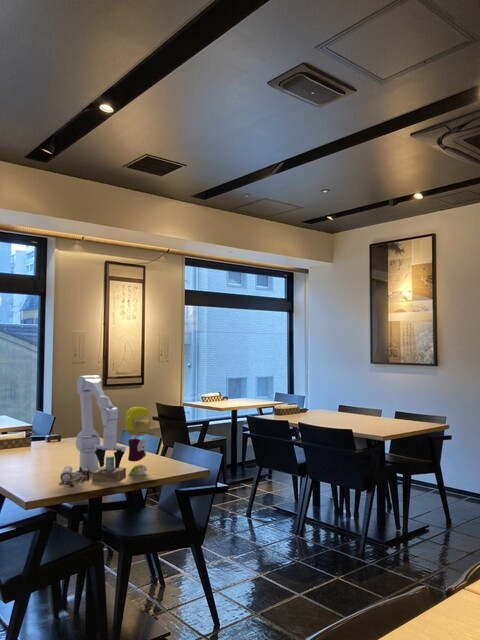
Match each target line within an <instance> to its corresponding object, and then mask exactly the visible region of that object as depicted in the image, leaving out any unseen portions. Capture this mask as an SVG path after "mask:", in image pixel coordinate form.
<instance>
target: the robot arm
mask: <svg viewBox="0 0 480 640" xmlns="http://www.w3.org/2000/svg"><path fill="white" fill-rule="evenodd" d="M76 390H77V394H79V399H80V414H81V431H80V432H79V433H77V434H76V441H75V447H76V450H77V451H78V452H79V467H81V468H84V469H85V468H86V467H87V466H88V469H89V470H90V473H92V472H94V471H96V470H98V469H100V468H101V467H105V458H106V451H112V452H113V451H114V452H113V455H114V467H115V468H119V467H120V464H121V461H122V458H123V456H124V454H125V452H126V446H124V445H119V444H118V445H117V443H118V441H117V440H118V421H119V420H120V417H121V413H120V409H119V407H117V406H114V405H113V403H112V401H111V399H110V398H109V396H107V395H105V393H104V390H103V388H102V378H101V376H100V375H99V374H97V375H79V376H78V377H77V380H76ZM92 395H94V397H95V398H96V400H97V401H96V404H97V406H98V408H99V410H100V412H101V416H100V417H101V420H102V421H101V422H102V426H103V433H102V434H103V438H102V439H103V440H102V442H103V444H101V439H100V435H99V432H98V431H96V429H94V420H93V419H94V418H93V417H94V416H93V405H92V404H93V402H92ZM78 471H79V468H78V469H76V470H75V472H78Z"/></svg>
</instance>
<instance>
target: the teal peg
mask: <svg viewBox="0 0 480 640" xmlns="http://www.w3.org/2000/svg"><path fill="white" fill-rule="evenodd" d="M105 467H106V471H114V467H115V456H113V455H112V456H111V455H108V456H105Z"/></svg>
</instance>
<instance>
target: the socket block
mask: <svg viewBox="0 0 480 640" xmlns="http://www.w3.org/2000/svg"><path fill="white" fill-rule="evenodd" d="M91 473H92V475H91V482H119V481H120V480H121V479H123V478H124V477H126V476H127V474H126V473H127V467H120V466H119V468H115V466H114V471H106V466H103V467H100V468H99V469H97V470H95V471H93V472H91Z"/></svg>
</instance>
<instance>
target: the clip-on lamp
mask: <svg viewBox="0 0 480 640" xmlns="http://www.w3.org/2000/svg"><path fill="white" fill-rule="evenodd" d="M78 469H79V471H78V472H76V471H74V472H73V467H72V466H71V465H68V464H67V465H65V466H64V468H63V471H61V473H60V476H59V478H60V480H61V482H62V483H64V484H65V485H67V486H69V487H77V486H78V485H80V484H81V482H82V481H83V482H84V481H85V477H87V481H89V480H90V473H91V472H90V470H89V469H88V466H87V467H86V468H85V469H84V468H81V467H80V466H79V468H78ZM75 475H76V478H74V476H75ZM81 477H82V479H81V480H80V481H79V482H78V483H77V484H76V485H75V484H73V483H71V481H73V482H74V481H76V480H77V479H79V478H81ZM73 478H74V479H73Z"/></svg>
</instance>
